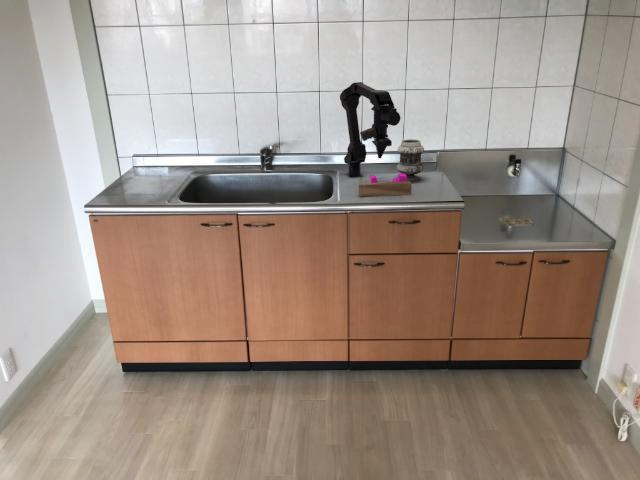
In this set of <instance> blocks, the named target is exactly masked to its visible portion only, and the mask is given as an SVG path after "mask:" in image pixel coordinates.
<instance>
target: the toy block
mask: <svg viewBox="0 0 640 480" xmlns="http://www.w3.org/2000/svg"><path fill="white" fill-rule="evenodd" d="M369 179H370V180H369V183H380V181H378V179H377V176H376V174H372V175H369ZM400 181H407V176H406V175H405V174H402V173H398V175H397V177H396V178H393V179H392V180H391V181H390V182H400Z"/></svg>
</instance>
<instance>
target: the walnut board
mask: <svg viewBox="0 0 640 480" xmlns="http://www.w3.org/2000/svg"><path fill="white" fill-rule="evenodd" d="M357 193H358V197H359V198H367V197H369V198H370V197H371V198H372V197H385V196H387V197H388V196H401V195H402V196H404V195H405V196H406V195H412V182H410V181H400V182H391V181H386V182H385V181H383V182H382V181H381V182H380V181H379V183H370V182H367V183H366V182H363V183H358V191H357Z"/></svg>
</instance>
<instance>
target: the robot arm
mask: <svg viewBox="0 0 640 480" xmlns="http://www.w3.org/2000/svg"><path fill="white" fill-rule="evenodd" d="M362 96H363V97H365V98H366V99H367V100H369V103H370V104H371V105H372V108H370V110H371V111H373V123H372V125H371V127H370V128H367V129H364V130H362V131H360V126H359V119H358V112H357V111H358V110H357V109H358V107H359V104H360V98H361V97H362ZM339 100H340V103H341V106H342V108H343V109H344V110H345V114H346V121H347V122H346V123H347V128H348V131H347V132H348V137H349V143H348V146H347V153H346V154H345V155H344V158H343V161H344V164H347V165H348V172H346V174H347V176H348V177H349V178H357V177H358V178H360V177H363V174H362V172H361V170H362V169H361V166H362V165H361V163H362V164H363V163H366V158H367V149H366V144H365V143H363V142H366V141H367V140H369V139H371V140H372V139H373V140H372V141H371V142H372V144H373V145H374V146H375V149H376V154H377V158H378V159H382V158H383V155H384V152H385V151H386V148H387V147H391V146H392V143H393V142H392V139H390V138H389V135H388V128H389V126H393V127H394V126H397V125H398V124H400V121H401V114H400V112H398V111H397V110H398V109H397V108H395V103H394V102H393V99H392V97H391V94H390V92H389V91H387V90H382V89H380V90H379V89H375V88H373V87H371V86H369V85H366V84H365V83H364V82H361V81H358V82H357V81H356V82H353V83H351V85H349V86H347V87H345V89H343V90H342V92H341V93H340V94H339ZM361 140H362V141H363V142H362V141H361Z"/></svg>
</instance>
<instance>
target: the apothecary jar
mask: <svg viewBox="0 0 640 480" xmlns="http://www.w3.org/2000/svg"><path fill="white" fill-rule="evenodd" d="M397 152H398V154H399V155H400V156H399V163H397V165H396V170H397V171H398V172H399V174H405V175H406V176H407V181H410V182H411V183H417V182H420V181H421V177H419V176H418V175H417V174H419V173H421V172H423V170H424V164H422V154H423V153H424V152H425V147H424V146H423V145H422V142H421V140H419V139H412V138H409V139H408V138H407V139H402V140H401V143H400V145H398V147H397Z"/></svg>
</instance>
